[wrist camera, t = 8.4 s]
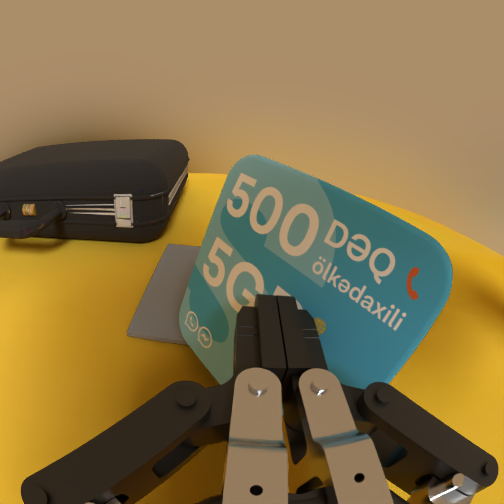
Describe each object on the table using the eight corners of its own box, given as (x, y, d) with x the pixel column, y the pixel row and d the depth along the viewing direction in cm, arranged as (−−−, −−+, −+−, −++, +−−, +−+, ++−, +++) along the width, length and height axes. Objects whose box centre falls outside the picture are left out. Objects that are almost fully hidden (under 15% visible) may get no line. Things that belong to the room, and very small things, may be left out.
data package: (172, 326, 17) (237, 146, 14) (222, 318, 21) (287, 168, 17) (298, 469, 10) (469, 259, 6) (339, 430, 13) (464, 260, 10)
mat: (360, 351, 20) (362, 348, 19) (127, 335, 18) (126, 332, 18) (322, 261, 32) (323, 258, 32) (168, 246, 30) (168, 243, 30)
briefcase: (-55, 260, 19) (-71, 197, 14) (39, 188, 46) (35, 145, 41) (154, 288, 24) (149, 182, 19) (189, 188, 51) (192, 138, 47)
